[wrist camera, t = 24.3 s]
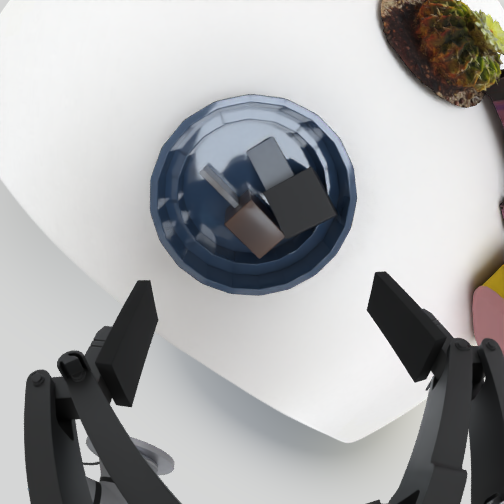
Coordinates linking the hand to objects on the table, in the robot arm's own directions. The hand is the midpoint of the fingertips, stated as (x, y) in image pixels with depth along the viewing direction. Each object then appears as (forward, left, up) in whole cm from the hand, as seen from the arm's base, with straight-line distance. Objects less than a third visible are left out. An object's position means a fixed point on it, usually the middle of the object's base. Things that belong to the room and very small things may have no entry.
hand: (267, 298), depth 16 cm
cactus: (+30, +9, -12) cm, 33 cm away
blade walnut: (0, +3, -11) cm, 12 cm away
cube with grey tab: (+3, +3, -9) cm, 10 cm away
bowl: (+2, +4, -12) cm, 12 cm away
